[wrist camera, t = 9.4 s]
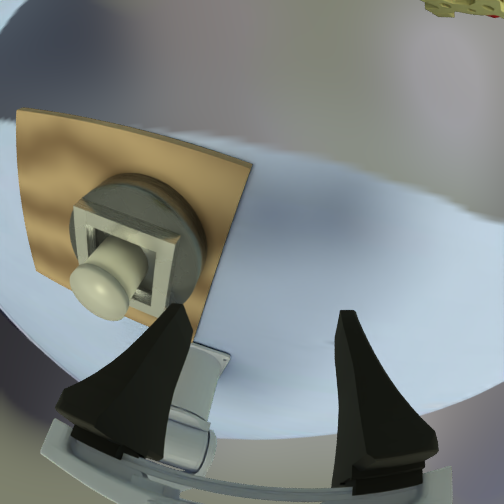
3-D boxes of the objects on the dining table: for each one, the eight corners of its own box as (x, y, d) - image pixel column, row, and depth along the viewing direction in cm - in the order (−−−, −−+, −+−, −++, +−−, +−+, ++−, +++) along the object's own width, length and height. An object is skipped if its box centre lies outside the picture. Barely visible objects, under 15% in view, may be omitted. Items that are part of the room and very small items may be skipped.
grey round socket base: (193, 305, 27) (180, 338, 23) (91, 262, 26) (70, 289, 23) (224, 201, 20) (207, 232, 16) (88, 157, 19) (55, 177, 15)
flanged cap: (148, 288, 22) (125, 329, 18) (101, 268, 22) (74, 304, 18) (153, 245, 19) (124, 287, 16) (99, 224, 19) (65, 259, 15)
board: (194, 336, 32) (192, 343, 31) (40, 266, 30) (36, 270, 29) (252, 164, 19) (250, 168, 18) (23, 107, 17) (16, 110, 16)
